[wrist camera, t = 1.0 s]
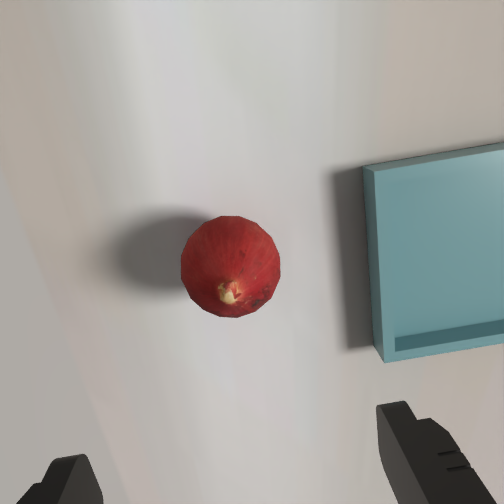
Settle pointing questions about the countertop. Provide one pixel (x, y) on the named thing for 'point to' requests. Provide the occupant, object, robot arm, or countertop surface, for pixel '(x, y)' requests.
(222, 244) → the onion
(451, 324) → the tray
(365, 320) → the countertop surface
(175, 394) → the countertop surface
